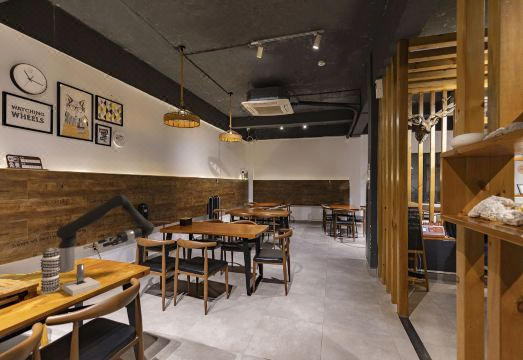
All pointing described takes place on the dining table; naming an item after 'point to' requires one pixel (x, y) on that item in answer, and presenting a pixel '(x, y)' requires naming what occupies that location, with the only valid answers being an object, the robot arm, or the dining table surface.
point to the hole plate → (80, 286)
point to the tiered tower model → (50, 270)
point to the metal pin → (80, 274)
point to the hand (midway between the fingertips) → (100, 244)
